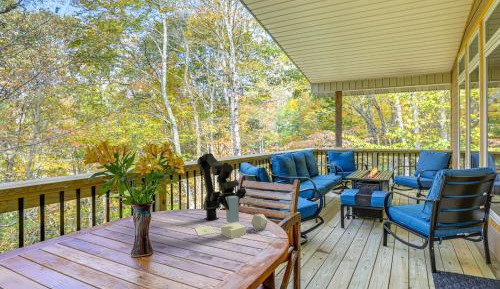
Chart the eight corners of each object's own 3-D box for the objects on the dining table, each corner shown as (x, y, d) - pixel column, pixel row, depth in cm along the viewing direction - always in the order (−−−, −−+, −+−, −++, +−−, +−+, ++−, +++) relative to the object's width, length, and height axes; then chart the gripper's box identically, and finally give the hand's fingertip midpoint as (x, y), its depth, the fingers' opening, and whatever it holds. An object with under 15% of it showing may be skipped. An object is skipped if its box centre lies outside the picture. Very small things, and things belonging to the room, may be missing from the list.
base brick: (221, 234, 150) (221, 226, 150) (235, 230, 156) (235, 222, 156) (231, 238, 143) (231, 230, 143) (245, 234, 149) (245, 226, 149)
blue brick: (226, 221, 150) (226, 196, 149) (235, 219, 152) (235, 195, 151) (229, 223, 146) (229, 198, 146) (238, 221, 148) (238, 197, 148)
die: (264, 233, 151) (272, 216, 154) (249, 226, 151) (257, 209, 154) (261, 234, 158) (268, 218, 162) (247, 227, 158) (254, 211, 162)
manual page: (194, 228, 160) (194, 227, 160) (210, 226, 163) (210, 225, 163) (198, 235, 149) (198, 234, 149) (215, 233, 152) (215, 232, 152)
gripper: (211, 176, 147) (220, 202, 138) (244, 173, 156) (254, 197, 147) (206, 189, 154) (214, 215, 145) (238, 185, 163) (248, 209, 154)
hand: (233, 209), depth 148 cm, fingers closed on blue brick, 5 cm apart
